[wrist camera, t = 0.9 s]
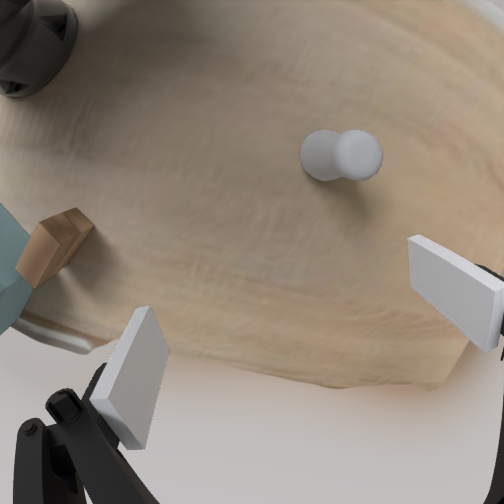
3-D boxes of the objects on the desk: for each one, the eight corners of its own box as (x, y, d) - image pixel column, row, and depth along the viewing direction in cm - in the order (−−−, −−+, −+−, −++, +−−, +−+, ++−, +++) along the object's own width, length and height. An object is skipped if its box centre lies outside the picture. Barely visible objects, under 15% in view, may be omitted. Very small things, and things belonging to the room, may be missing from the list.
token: (51, 246, 36) (15, 268, 28) (76, 207, 35) (38, 222, 27) (69, 263, 37) (34, 289, 29) (94, 225, 36) (60, 244, 27)
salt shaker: (328, 188, 36) (372, 205, 24) (286, 163, 35) (314, 167, 23) (351, 147, 35) (405, 146, 22) (311, 121, 34) (350, 105, 21)
